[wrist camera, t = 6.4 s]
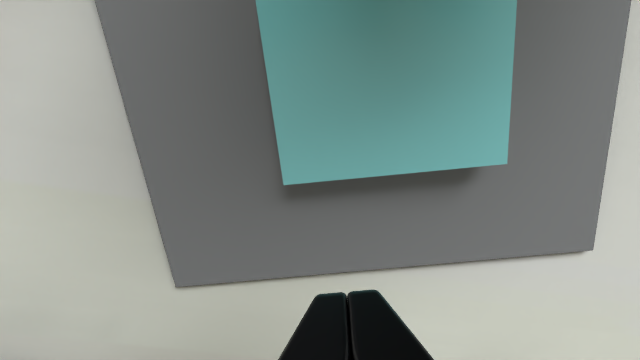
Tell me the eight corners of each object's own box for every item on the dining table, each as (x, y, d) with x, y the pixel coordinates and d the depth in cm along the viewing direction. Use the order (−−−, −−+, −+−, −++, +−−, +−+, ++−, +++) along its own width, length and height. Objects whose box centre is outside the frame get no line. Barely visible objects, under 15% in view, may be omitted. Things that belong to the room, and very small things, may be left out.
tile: (286, 159, 19) (491, 140, 19) (283, 185, 18) (507, 163, 18) (259, -23, 17) (499, -49, 16) (253, -13, 15) (519, -42, 15)
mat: (588, 244, 22) (592, 250, 21) (178, 280, 22) (175, 287, 22) (681, -390, 13) (691, -397, 13) (15, -301, 14) (8, -306, 14)
